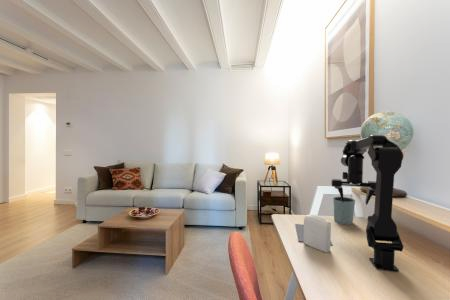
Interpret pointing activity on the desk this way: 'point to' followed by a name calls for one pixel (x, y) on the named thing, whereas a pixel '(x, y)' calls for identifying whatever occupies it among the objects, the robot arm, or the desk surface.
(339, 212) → the grey-blue cup
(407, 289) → the desk surface
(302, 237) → the mat
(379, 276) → the desk surface
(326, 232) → the photo printer
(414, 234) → the desk surface
